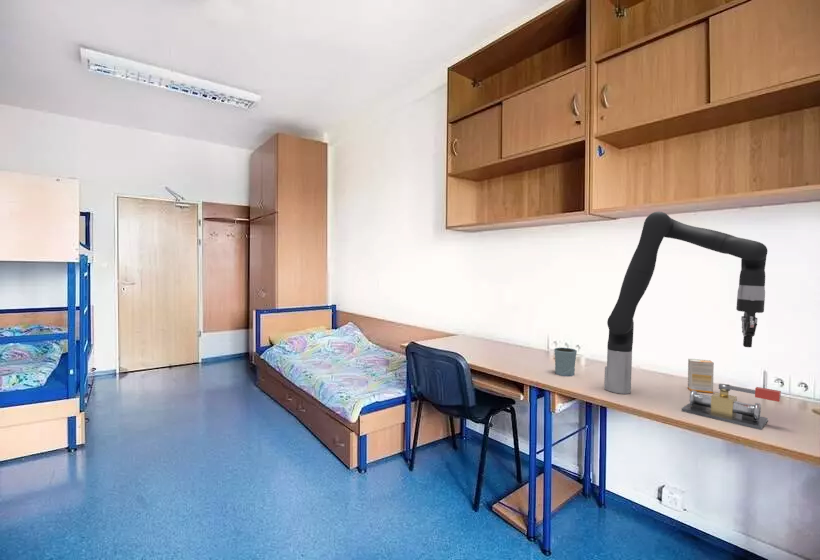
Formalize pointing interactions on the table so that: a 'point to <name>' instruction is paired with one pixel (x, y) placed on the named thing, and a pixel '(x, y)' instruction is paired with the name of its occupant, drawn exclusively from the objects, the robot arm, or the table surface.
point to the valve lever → (755, 392)
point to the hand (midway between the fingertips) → (747, 346)
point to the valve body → (725, 409)
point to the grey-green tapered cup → (565, 361)
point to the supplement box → (700, 375)
